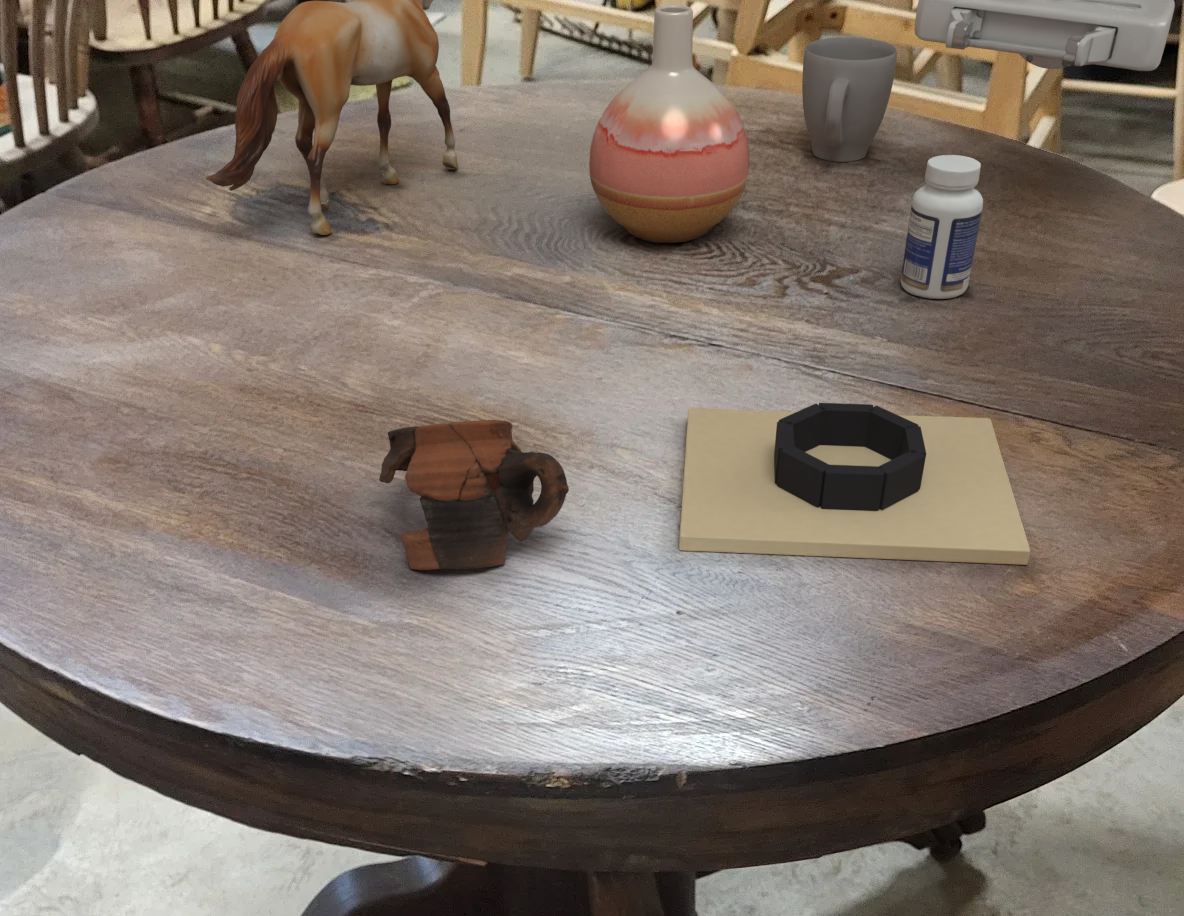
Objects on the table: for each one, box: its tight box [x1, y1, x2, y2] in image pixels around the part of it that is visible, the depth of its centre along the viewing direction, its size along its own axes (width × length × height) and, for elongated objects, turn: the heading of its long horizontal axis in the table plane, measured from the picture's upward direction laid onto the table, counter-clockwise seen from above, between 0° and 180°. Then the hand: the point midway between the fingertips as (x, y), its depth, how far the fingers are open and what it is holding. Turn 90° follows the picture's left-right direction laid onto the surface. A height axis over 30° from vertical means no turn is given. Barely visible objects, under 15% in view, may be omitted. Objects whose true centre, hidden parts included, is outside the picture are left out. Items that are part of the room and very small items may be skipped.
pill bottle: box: [900, 154, 984, 300], centre depth 101 cm, size 5×5×10 cm
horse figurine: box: [204, 0, 459, 236], centre depth 114 cm, size 31×8×21 cm, turn 147°
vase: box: [588, 4, 750, 244], centre depth 109 cm, size 14×14×18 cm
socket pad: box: [678, 402, 1031, 566], centre depth 80 cm, size 20×16×4 cm
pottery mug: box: [378, 419, 570, 571], centre depth 76 cm, size 12×10×8 cm
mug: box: [801, 36, 898, 163], centre depth 126 cm, size 12×9×10 cm
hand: (1013, 45), depth 102 cm, fingers open, 8 cm apart
